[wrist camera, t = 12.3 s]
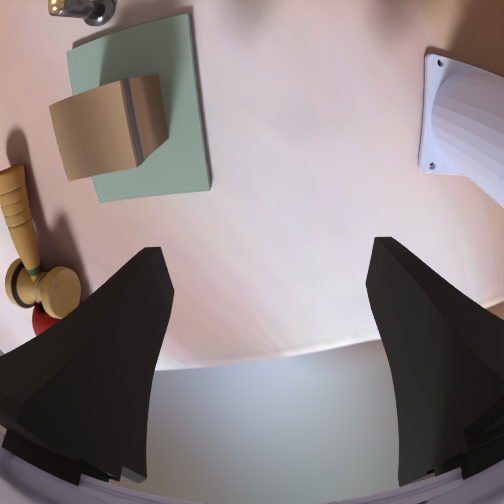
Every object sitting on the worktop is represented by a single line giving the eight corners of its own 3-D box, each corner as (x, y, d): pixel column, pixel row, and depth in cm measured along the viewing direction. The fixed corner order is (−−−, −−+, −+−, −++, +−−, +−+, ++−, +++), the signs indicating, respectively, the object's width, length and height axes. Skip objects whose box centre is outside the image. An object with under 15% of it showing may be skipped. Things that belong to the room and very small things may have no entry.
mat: (189, 15, 12) (187, 13, 11) (211, 186, 18) (209, 190, 18) (71, 51, 12) (66, 51, 12) (103, 199, 19) (99, 203, 18)
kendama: (-1, 169, 18) (50, 325, 27) (-43, 190, 13) (31, 365, 21) (62, 150, 19) (107, 324, 28) (22, 167, 14) (94, 369, 22)
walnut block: (158, 73, 13) (120, 80, 9) (169, 138, 16) (137, 168, 12) (98, 90, 14) (48, 105, 10) (110, 149, 16) (68, 181, 12)
